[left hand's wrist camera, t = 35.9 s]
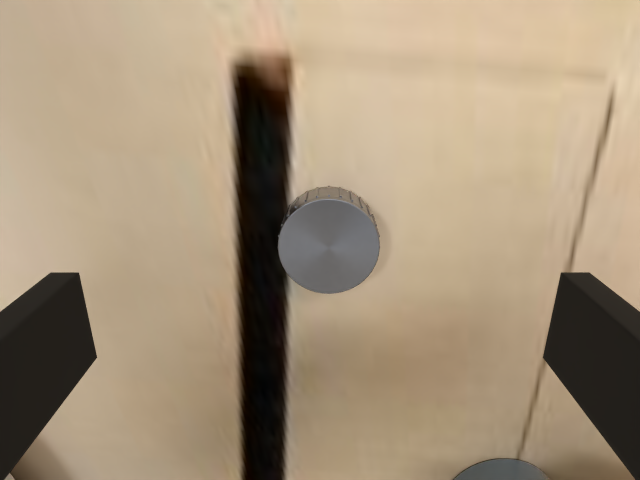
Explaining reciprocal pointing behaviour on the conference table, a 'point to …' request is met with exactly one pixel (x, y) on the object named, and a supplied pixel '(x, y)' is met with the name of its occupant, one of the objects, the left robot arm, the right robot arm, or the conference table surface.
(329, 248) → the cap
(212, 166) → the conference table surface
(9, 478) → the projector
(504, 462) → the bottle
